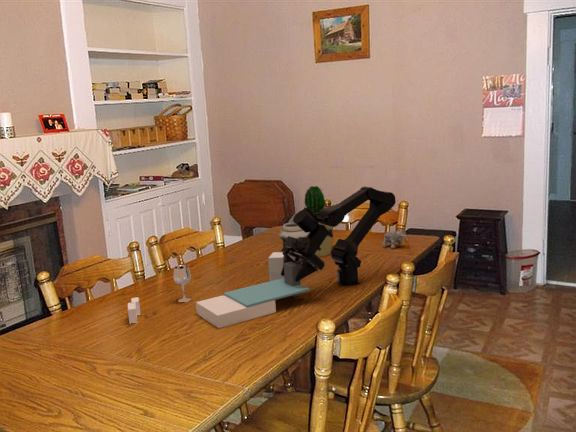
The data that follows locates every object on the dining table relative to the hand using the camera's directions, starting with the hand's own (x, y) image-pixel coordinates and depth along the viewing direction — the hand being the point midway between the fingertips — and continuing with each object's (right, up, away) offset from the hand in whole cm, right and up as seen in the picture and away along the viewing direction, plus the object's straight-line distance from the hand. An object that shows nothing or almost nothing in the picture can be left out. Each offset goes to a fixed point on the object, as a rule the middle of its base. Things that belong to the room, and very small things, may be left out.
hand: (288, 278), depth 195 cm
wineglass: (-36, -8, +6) cm, 37 cm away
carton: (-17, -10, -9) cm, 22 cm away
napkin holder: (-49, -12, -7) cm, 51 cm away
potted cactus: (+13, +5, +58) cm, 59 cm away
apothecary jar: (+3, 0, +37) cm, 37 cm away
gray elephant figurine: (+47, +7, +59) cm, 76 cm away
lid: (-7, -7, -3) cm, 10 cm away
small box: (-3, -4, +20) cm, 21 cm away
